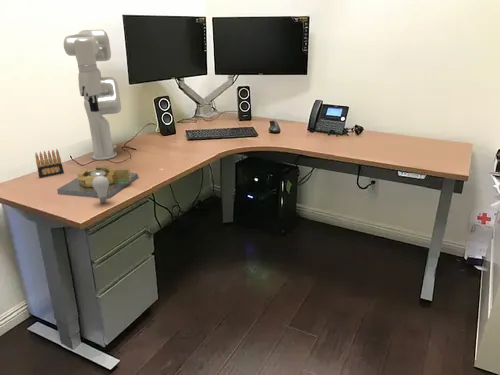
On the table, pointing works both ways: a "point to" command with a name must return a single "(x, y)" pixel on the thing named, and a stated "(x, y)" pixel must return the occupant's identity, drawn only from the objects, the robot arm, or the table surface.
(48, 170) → the ammunition clip
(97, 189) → the lightbulb
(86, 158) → the table surface
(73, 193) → the housing
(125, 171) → the ring nut
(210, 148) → the table surface
